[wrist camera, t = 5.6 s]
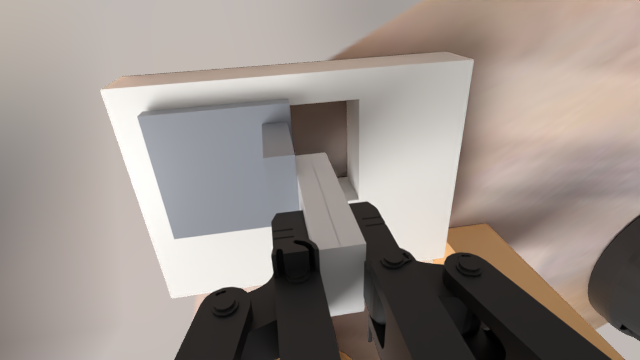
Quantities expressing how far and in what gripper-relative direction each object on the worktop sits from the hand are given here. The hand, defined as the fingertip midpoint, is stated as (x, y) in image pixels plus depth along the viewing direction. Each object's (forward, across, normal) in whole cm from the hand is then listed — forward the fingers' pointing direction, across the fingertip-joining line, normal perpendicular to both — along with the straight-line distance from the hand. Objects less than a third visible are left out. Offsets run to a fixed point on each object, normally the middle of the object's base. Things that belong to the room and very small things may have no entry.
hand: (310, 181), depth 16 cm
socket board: (+6, 0, +2) cm, 7 cm away
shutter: (+3, +4, 0) cm, 5 cm away
